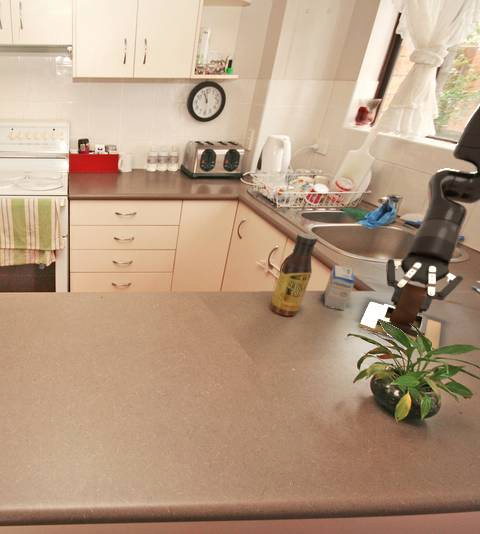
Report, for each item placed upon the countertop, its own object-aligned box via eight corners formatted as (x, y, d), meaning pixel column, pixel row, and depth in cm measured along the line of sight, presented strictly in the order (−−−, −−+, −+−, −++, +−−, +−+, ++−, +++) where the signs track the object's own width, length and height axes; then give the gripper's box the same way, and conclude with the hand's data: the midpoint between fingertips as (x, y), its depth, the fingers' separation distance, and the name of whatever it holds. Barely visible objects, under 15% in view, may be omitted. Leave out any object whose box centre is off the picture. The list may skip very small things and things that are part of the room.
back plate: (439, 326, 91) (444, 317, 90) (436, 353, 81) (441, 343, 80) (368, 304, 99) (372, 296, 98) (358, 327, 90) (362, 317, 89)
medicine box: (323, 293, 104) (333, 264, 100) (342, 298, 102) (353, 268, 98) (323, 306, 98) (334, 275, 94) (344, 311, 96) (355, 280, 92)
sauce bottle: (279, 318, 92) (302, 241, 84) (264, 305, 98) (284, 231, 89) (304, 316, 93) (329, 240, 85) (287, 303, 99) (309, 230, 90)
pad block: (411, 322, 90) (427, 288, 86) (409, 330, 87) (426, 296, 83) (390, 315, 93) (405, 282, 89) (388, 323, 89) (403, 289, 85)
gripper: (399, 227, 91) (372, 290, 88) (481, 244, 82) (454, 314, 79) (393, 243, 96) (367, 302, 93) (469, 260, 88) (444, 325, 85)
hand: (407, 307), depth 86 cm, fingers closed on pad block, 4 cm apart
